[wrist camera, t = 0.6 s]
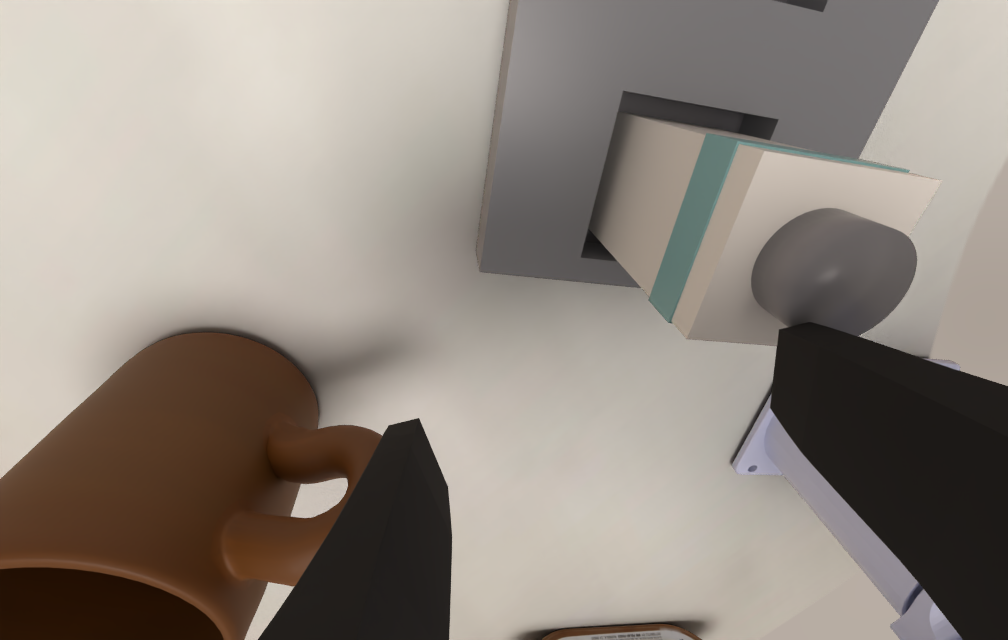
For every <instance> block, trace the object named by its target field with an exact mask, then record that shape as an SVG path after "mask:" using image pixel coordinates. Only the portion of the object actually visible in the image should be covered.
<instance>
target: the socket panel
mask: <svg viewBox="0 0 1008 640" xmlns="http://www.w3.org/2000/svg"><path fill="white" fill-rule="evenodd" d="M938 1H939V0H510V2H509V10H508V17H507V24H506V32H505V39H504V46H503V54H502V61H501V69H500V76H499V83H498V91H497V98H496V106H495V113H494V120H493V128H492V135H491V143H490V150H489V157H488V165H487V172H486V179H485V187H484V194H483V202H482V209H481V216H480V224H479V231H478V239H477V246H476V255H477V260H478V266H479V271H480V272H485V273H495V274H505V275H515V276H525V277H535V278H545V279H556V280H566V281H576V282H586V283H596V284H606V285H616V286H626V287H636V288H641V287H640V286H639V285H638V284H637V282H636V281H635V280H634V279H633V278H632V277H631V276H630V275H629V273H628V272H627V271H626V270H625V269H624V268H623V267H622V266H621V264H620V263H619V262H618V261H617V260H616V259H615V258H614V257H613V256H612V254H611V253H610V252H609V251H608V250H607V249H606V248H605V247H604V245H603V244H602V243H601V242H600V241H599V240H598V239H597V238H596V236H595V235H594V234H593V233H592V232H591V231H590V230H589V229H588V227H589V223H590V219H591V215H592V211H593V207H594V203H595V199H596V195H597V191H598V187H599V183H600V180H601V176H602V172H603V168H604V164H605V160H606V156H607V152H608V148H609V144H610V140H611V136H612V132H613V128H614V124H615V121H616V117H617V113H618V111H619V112H625V113H630V114H636V115H642V116H648V117H653V118H659V119H665V120H671V121H676V122H682V123H688V124H694V125H699V126H705V127H711V128H717V129H722V130H727V131H731V132H735V133H740V134H744V135H748V136H753V137H757V138H761V139H765V140H770V141H774V142H778V143H783V144H787V145H791V146H795V147H800V148H804V149H808V150H813V151H817V152H821V153H827V154H833V155H838V156H844V157H850V158H856V159H858V158H859V156H860V154H861V152H862V150H863V149H864V147H865V145H866V143H867V141H868V139H869V137H870V135H871V133H872V131H873V129H874V127H875V125H876V123H877V121H878V119H879V117H880V115H881V113H882V111H883V109H884V107H885V105H886V103H887V101H888V99H889V98H890V96H891V94H892V92H893V90H894V88H895V86H896V84H897V82H898V80H899V78H900V76H901V74H902V72H903V70H904V68H905V66H906V64H907V62H908V60H909V58H910V56H911V54H912V52H913V50H914V48H915V47H916V45H917V43H918V41H919V39H920V37H921V35H922V33H923V31H924V29H925V27H926V25H927V23H928V21H929V19H930V17H931V15H932V13H933V11H934V9H935V7H936V5H937V3H938Z"/></svg>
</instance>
